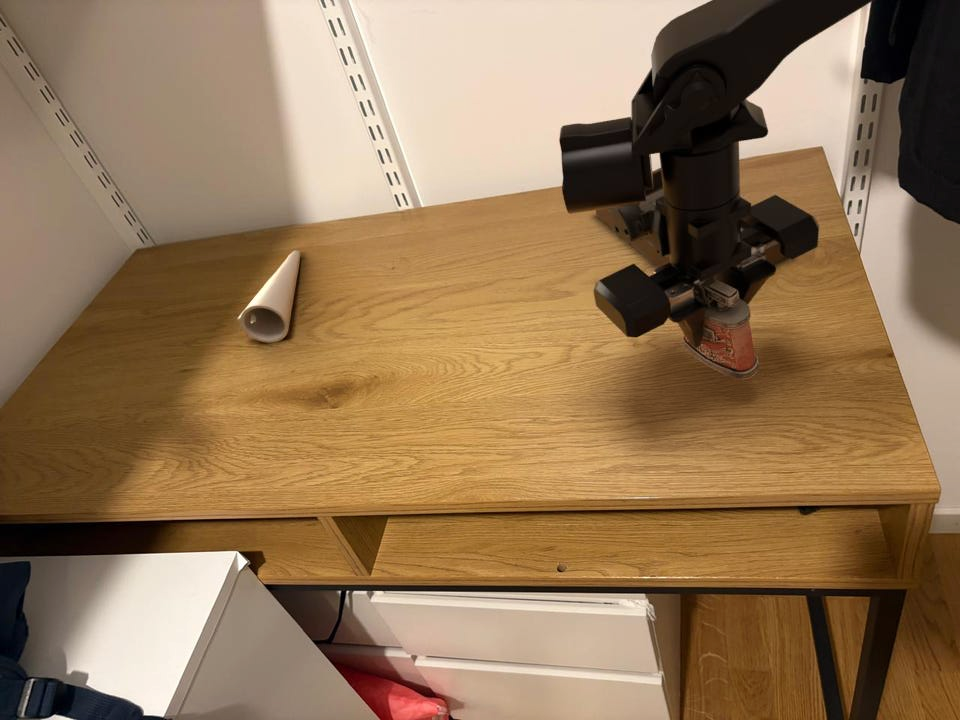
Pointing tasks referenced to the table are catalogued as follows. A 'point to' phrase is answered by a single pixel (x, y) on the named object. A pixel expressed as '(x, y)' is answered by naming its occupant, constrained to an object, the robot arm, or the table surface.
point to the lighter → (724, 331)
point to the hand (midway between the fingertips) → (709, 337)
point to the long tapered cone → (272, 304)
